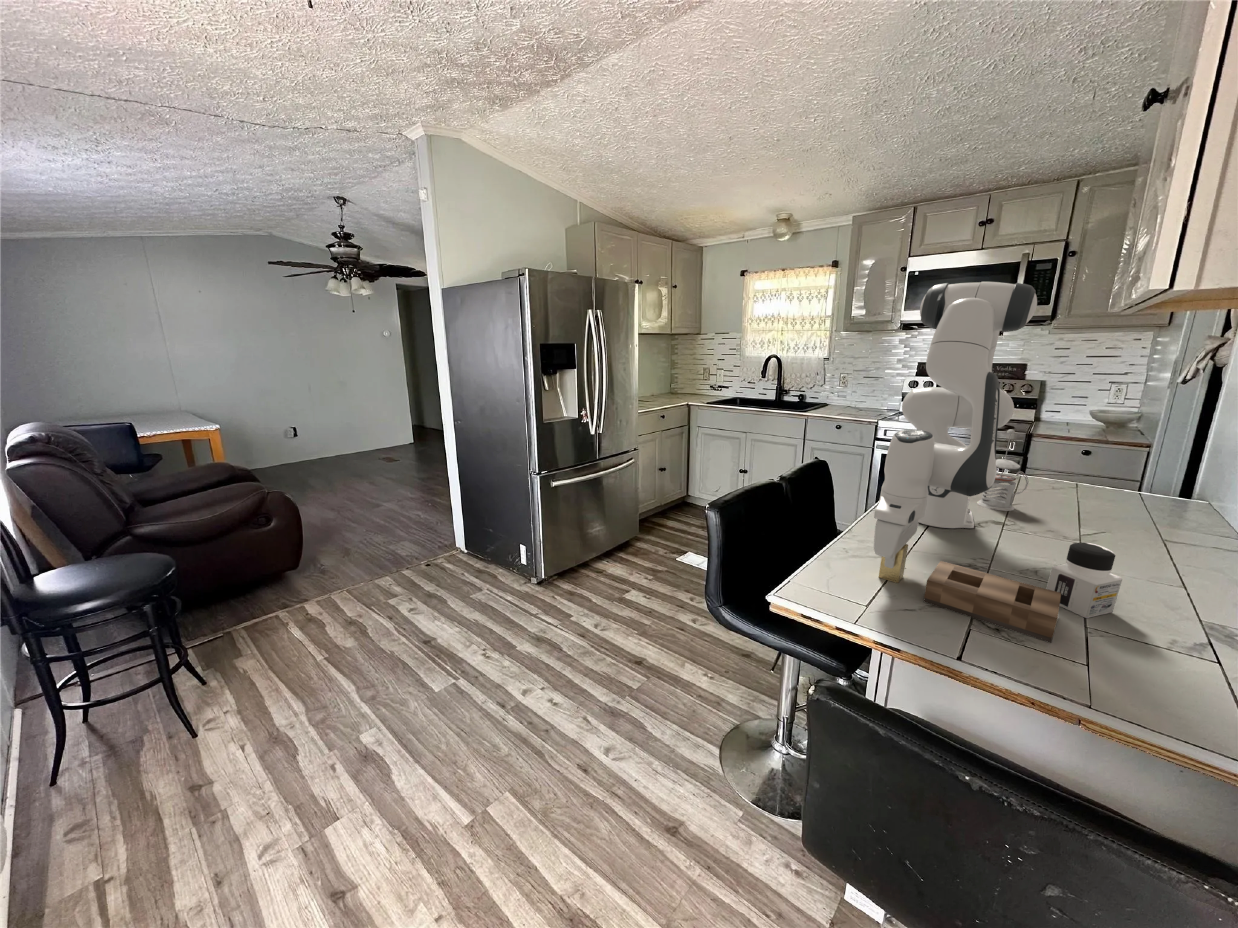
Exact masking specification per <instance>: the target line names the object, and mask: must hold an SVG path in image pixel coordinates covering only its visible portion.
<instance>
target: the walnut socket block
mask: <svg viewBox="0 0 1238 928" xmlns="http://www.w3.org/2000/svg"><path fill="white" fill-rule="evenodd" d="M925 585H926V586H925V589H924V594H923V595H924V596H923V603H926V604H928V605H932V606H935V607H938V608H941V609H945V610H947V611H949V612H954V613H957V614H959V615H963V616H967V617H969V618H973V619H975V620H978V621H982V622H985V623H987V624H991V625H994V626H997V627H1000V628H1003V629H1006V630H1010V631H1013V632H1014V633H1015V632H1016V633H1019V634H1022V635H1025V636H1029V637H1031V638H1035V639H1038V640H1041V641H1043V642H1047V643H1049V644H1051V643H1052V642H1053V641H1052V640H1053V637H1054V634H1055V629H1056V626H1057V622H1058V617H1059V610H1060V606H1059V605H1060V598H1061V593H1060V592H1056V591H1052V590H1048V589H1046V588H1044V587H1041V586H1040V587H1039V586H1036V585H1034V584H1029V583H1025V582H1021V581H1017V580H1014V579H1009V578H1006V577H1003V576H999V575H995V574H991V573H989V572H988V573H987V572H985V571H980V570H977V569H972V568H969V567H964V566H961V565H957V564H954V563H950V562H946V561H943V560H940V561H939V562H938V564H937V565H936V567H935V568H934V570H933V571H931V573H930V575H929V576H928V578H927V579H926V584H925Z"/></svg>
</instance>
